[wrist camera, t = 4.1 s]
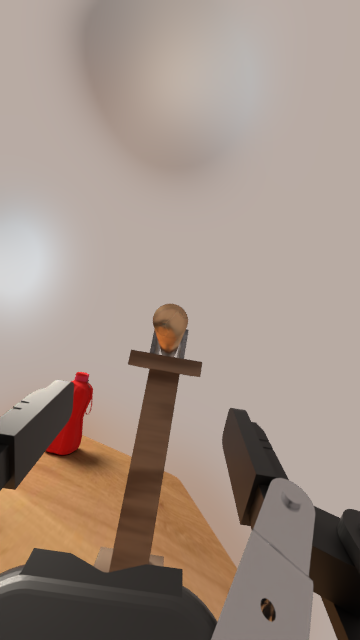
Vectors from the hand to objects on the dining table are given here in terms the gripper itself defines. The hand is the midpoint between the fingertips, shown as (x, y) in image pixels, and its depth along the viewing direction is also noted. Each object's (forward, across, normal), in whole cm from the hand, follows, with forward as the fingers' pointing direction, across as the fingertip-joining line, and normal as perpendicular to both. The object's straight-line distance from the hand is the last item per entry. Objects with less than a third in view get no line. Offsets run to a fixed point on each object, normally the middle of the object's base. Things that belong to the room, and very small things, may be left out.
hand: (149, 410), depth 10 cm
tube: (+17, 0, +4) cm, 17 cm away
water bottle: (+46, +28, +56) cm, 78 cm away
